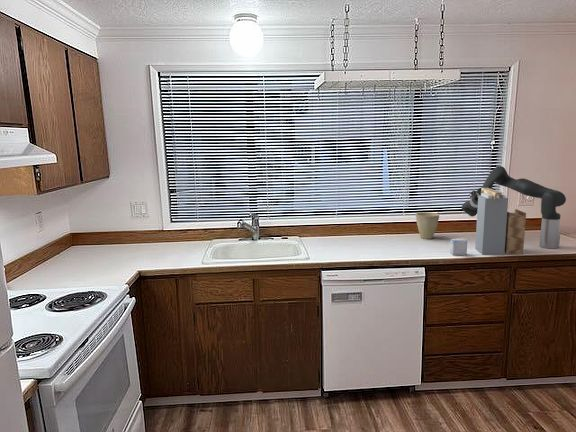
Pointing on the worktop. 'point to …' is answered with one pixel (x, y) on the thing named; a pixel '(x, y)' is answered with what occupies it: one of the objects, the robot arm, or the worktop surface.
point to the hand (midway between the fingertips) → (486, 189)
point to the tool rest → (515, 232)
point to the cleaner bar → (492, 193)
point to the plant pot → (427, 224)
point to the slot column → (491, 224)
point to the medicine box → (458, 247)
